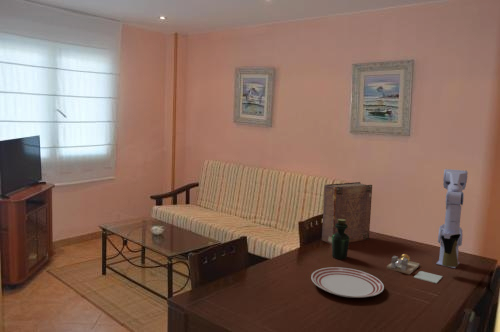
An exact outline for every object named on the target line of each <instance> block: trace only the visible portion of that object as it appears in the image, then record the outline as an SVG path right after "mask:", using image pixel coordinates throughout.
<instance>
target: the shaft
mask: <svg viewBox="0 0 500 332" xmlns="http://www.w3.org/2000/svg"><path fill="white" fill-rule="evenodd" d="M404 258H406V259H408V262H409V261H411V257H410V255H409V254H407V253H403V254H401V255H400V256H399V259H400V260H398V261H397V262H396V263H395V264H394V265H395V267H399V266H400V265H401V264H402V260H403V259H404Z"/></svg>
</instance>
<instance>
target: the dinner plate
mask: <svg viewBox="0 0 500 332" xmlns="http://www.w3.org/2000/svg"><path fill="white" fill-rule="evenodd" d="M310 278H311V281H312V283H313V284H314V286H317V288H319V289H321V290H323V291H325V292H327V293H330V294H333V295H335V296H337V297H342V298H350V299H351V298H352V299H354V298H355V299H356V298H357V299H359V298H360V299H361V298H369V297H374V296H377V295H379V294H381V293H383V291H384V290H385V286H384V283H383V282H382V281H381V280H380V279H379V278H378V277H376V276H375V275H372V274H370V273H368V272H365V271H363V270H360V269H359V270H358V269H355V268H348V267H336V266H335V267H333V266H332V267H323V268H320V269H316V270H315V271H313V272H312V273H311V276H310Z"/></svg>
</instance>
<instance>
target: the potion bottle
mask: <svg viewBox="0 0 500 332" xmlns="http://www.w3.org/2000/svg"><path fill="white" fill-rule="evenodd" d="M345 222H346V220H345V219H338V223H337V224H336V225H335V227H336V228H337V230H338V232H337V233H335V234H333V236H332V244H331V251H332V252H331V255H332V257H333V258H334V259H336V260H346V259H347V258H348V252H349V245H350V243H349V239H350V238H349V236H348V235H347V234H345V233H344V232H345V229H346V228H348V226H347V224H345Z"/></svg>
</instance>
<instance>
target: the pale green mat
mask: <svg viewBox="0 0 500 332" xmlns="http://www.w3.org/2000/svg"><path fill="white" fill-rule="evenodd" d="M413 278H414V279H418V280H421V281H426V282H430V283H433V284H438V283H439V282H440V281H441V280H442V278H443V275H438V274H436V273H435V274H434V273H431V272H426V271H422V270H420V271H418V273H416V274H415V275H414V276H413Z"/></svg>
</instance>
